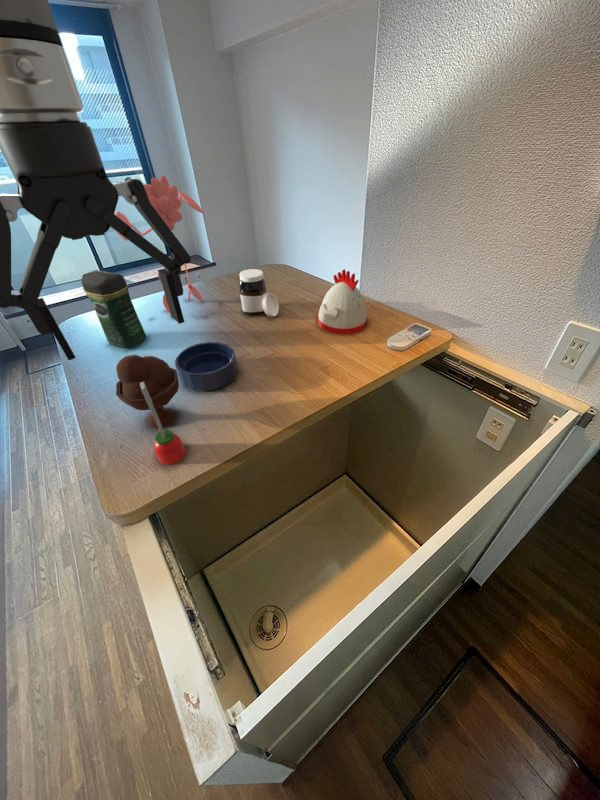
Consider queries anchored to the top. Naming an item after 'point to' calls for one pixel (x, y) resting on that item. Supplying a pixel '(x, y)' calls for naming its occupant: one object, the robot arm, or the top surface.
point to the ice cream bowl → (147, 385)
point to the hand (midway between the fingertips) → (128, 335)
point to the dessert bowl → (206, 366)
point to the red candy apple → (164, 437)
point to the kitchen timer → (343, 306)
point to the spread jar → (256, 294)
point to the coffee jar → (114, 308)
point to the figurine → (166, 215)
